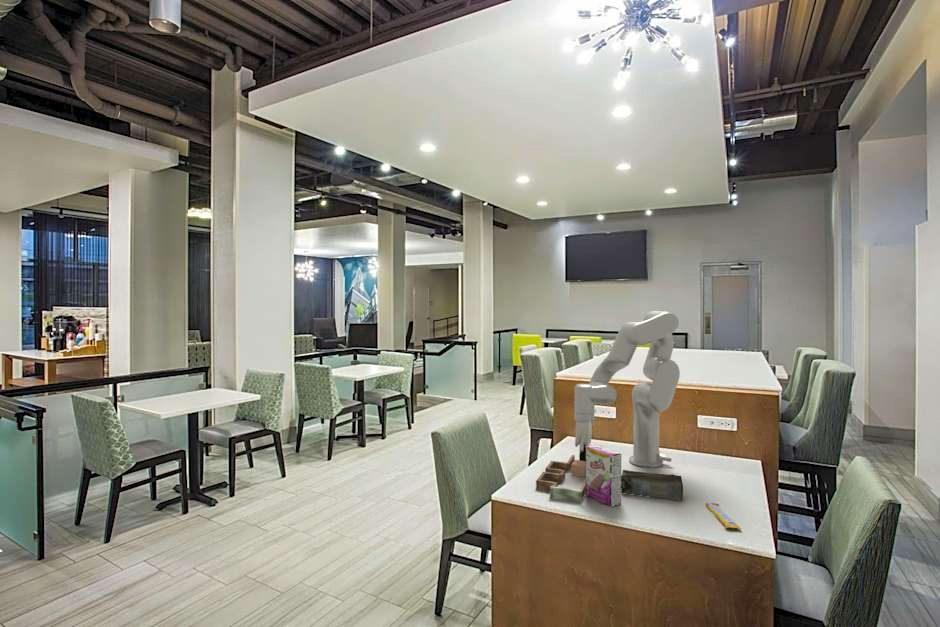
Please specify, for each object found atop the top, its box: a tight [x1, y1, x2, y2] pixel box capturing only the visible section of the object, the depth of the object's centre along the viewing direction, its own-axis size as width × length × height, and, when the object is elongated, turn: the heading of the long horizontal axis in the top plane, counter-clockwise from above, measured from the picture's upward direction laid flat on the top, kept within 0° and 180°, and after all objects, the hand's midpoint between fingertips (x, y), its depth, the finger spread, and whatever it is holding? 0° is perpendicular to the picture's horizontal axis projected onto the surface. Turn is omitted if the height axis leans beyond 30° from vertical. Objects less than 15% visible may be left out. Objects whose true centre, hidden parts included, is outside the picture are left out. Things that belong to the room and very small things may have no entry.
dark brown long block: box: [621, 469, 684, 502], centre depth 165 cm, size 8×19×7 cm, turn 69°
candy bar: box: [705, 502, 742, 530], centre depth 146 cm, size 17×4×2 cm, turn 174°
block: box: [570, 459, 586, 477], centre depth 184 cm, size 5×6×4 cm
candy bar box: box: [585, 444, 622, 507], centre depth 159 cm, size 11×5×16 cm, turn 32°
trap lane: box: [535, 454, 586, 503], centre depth 177 cm, size 16×38×4 cm, turn 158°
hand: (583, 463), depth 192 cm, fingers closed
